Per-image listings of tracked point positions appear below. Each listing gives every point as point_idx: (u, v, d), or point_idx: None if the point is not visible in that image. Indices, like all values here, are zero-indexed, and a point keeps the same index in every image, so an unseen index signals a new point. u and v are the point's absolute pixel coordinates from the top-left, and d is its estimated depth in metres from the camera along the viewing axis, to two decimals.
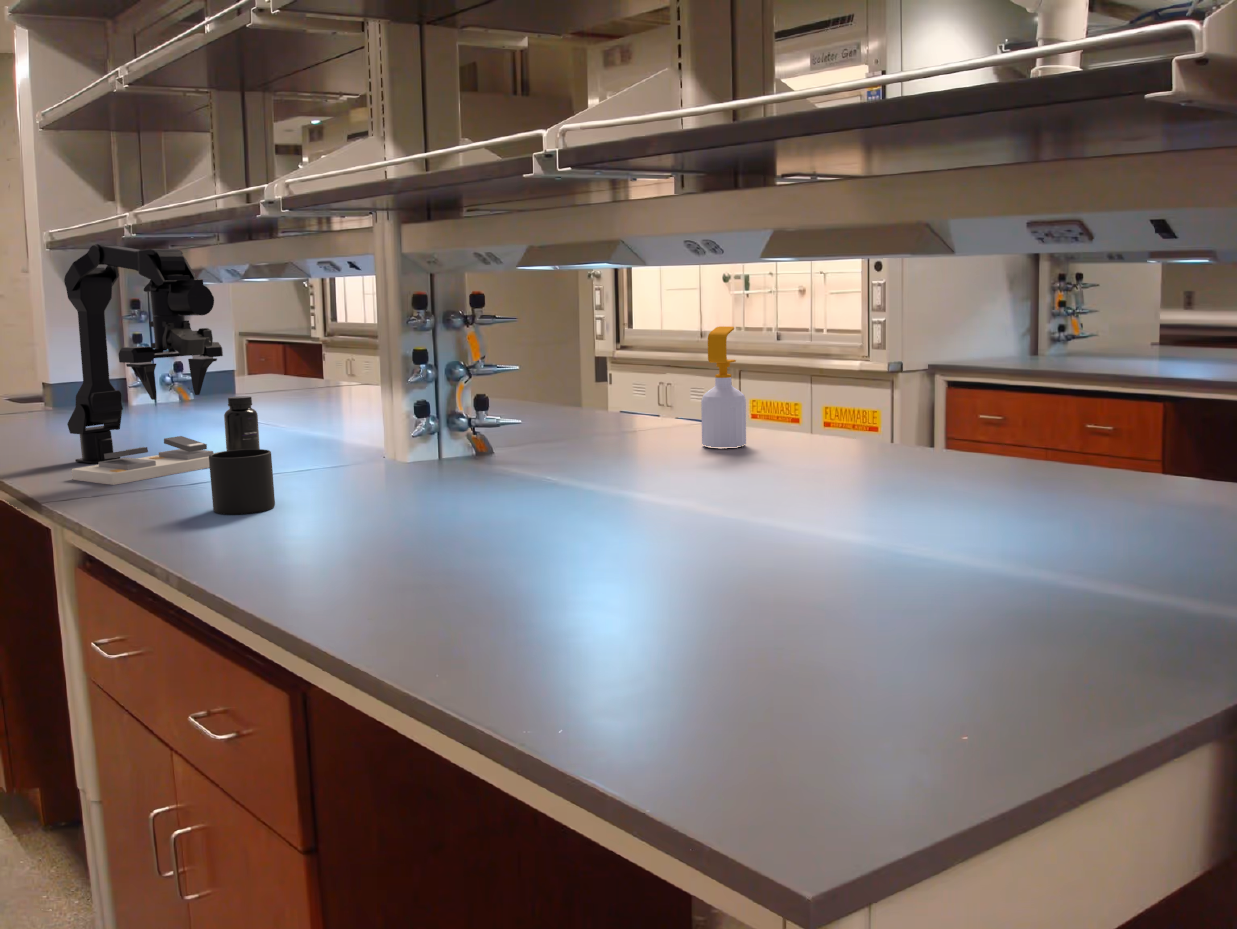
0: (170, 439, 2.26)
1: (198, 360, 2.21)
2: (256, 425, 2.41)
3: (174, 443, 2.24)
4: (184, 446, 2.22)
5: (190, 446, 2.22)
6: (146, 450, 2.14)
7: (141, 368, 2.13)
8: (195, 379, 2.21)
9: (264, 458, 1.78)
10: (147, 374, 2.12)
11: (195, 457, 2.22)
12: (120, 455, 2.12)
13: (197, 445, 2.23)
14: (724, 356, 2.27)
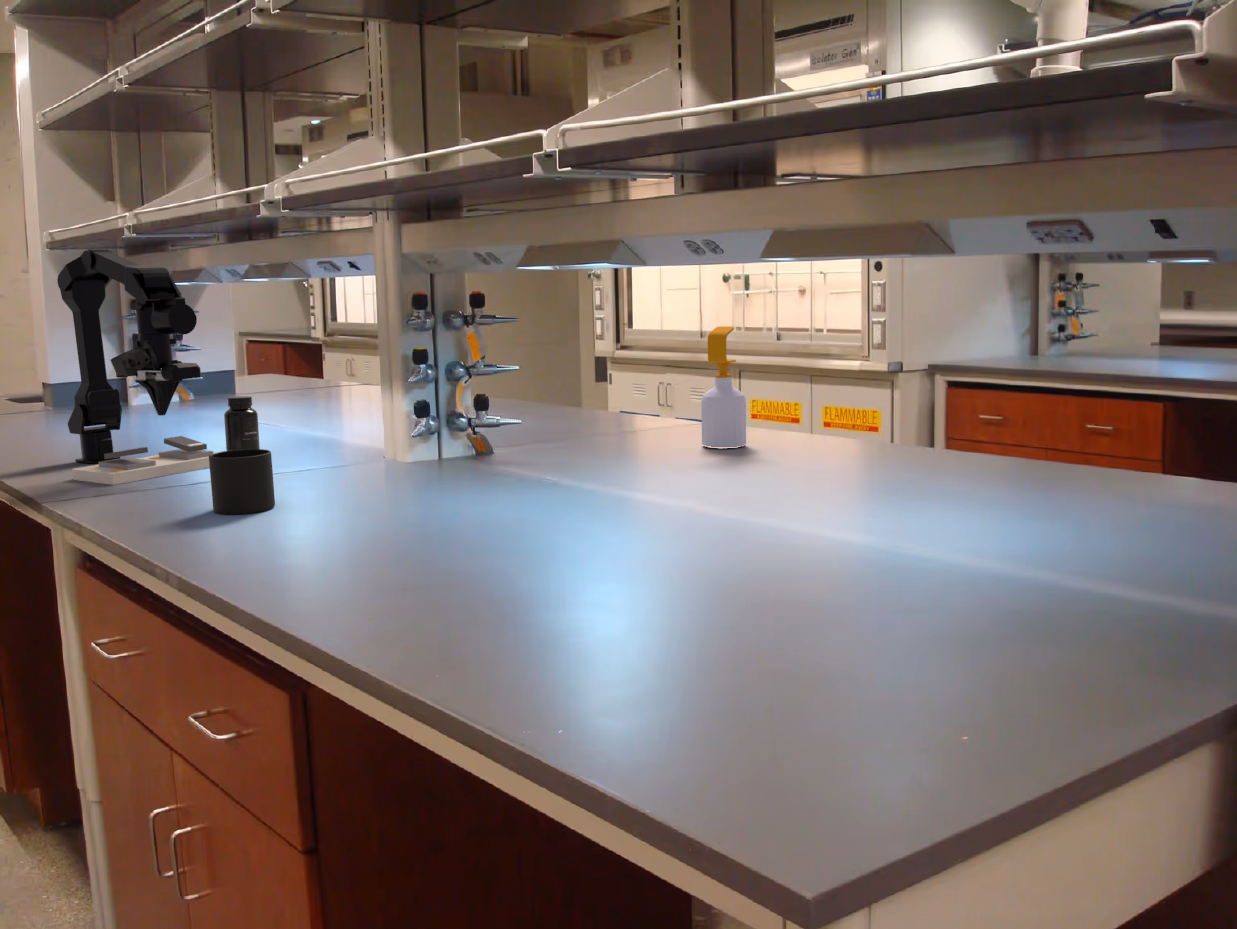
0: (170, 439, 2.26)
1: None
2: (256, 425, 2.41)
3: (174, 443, 2.24)
4: (184, 446, 2.22)
5: (190, 446, 2.22)
6: (146, 450, 2.14)
7: None
8: None
9: (264, 458, 1.78)
10: (147, 390, 2.17)
11: (195, 457, 2.22)
12: (120, 455, 2.12)
13: (197, 445, 2.23)
14: (724, 356, 2.27)
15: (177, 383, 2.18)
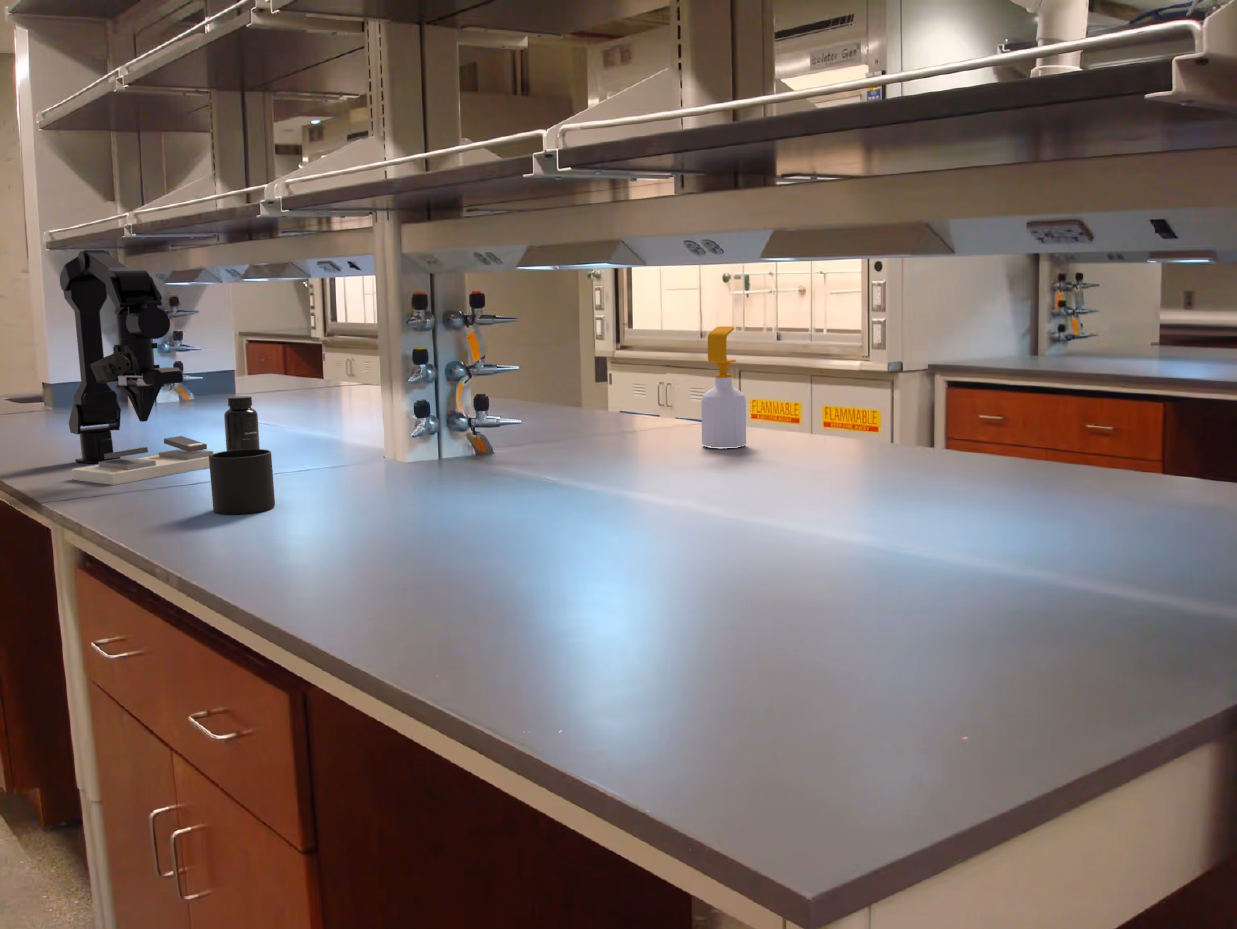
0: (170, 439, 2.26)
1: None
2: (256, 425, 2.41)
3: (174, 443, 2.24)
4: (184, 446, 2.22)
5: (190, 446, 2.22)
6: (146, 450, 2.14)
7: None
8: None
9: (264, 458, 1.78)
10: (128, 395, 2.13)
11: (195, 457, 2.22)
12: (120, 455, 2.12)
13: (197, 445, 2.23)
14: (724, 356, 2.27)
15: (159, 388, 2.13)
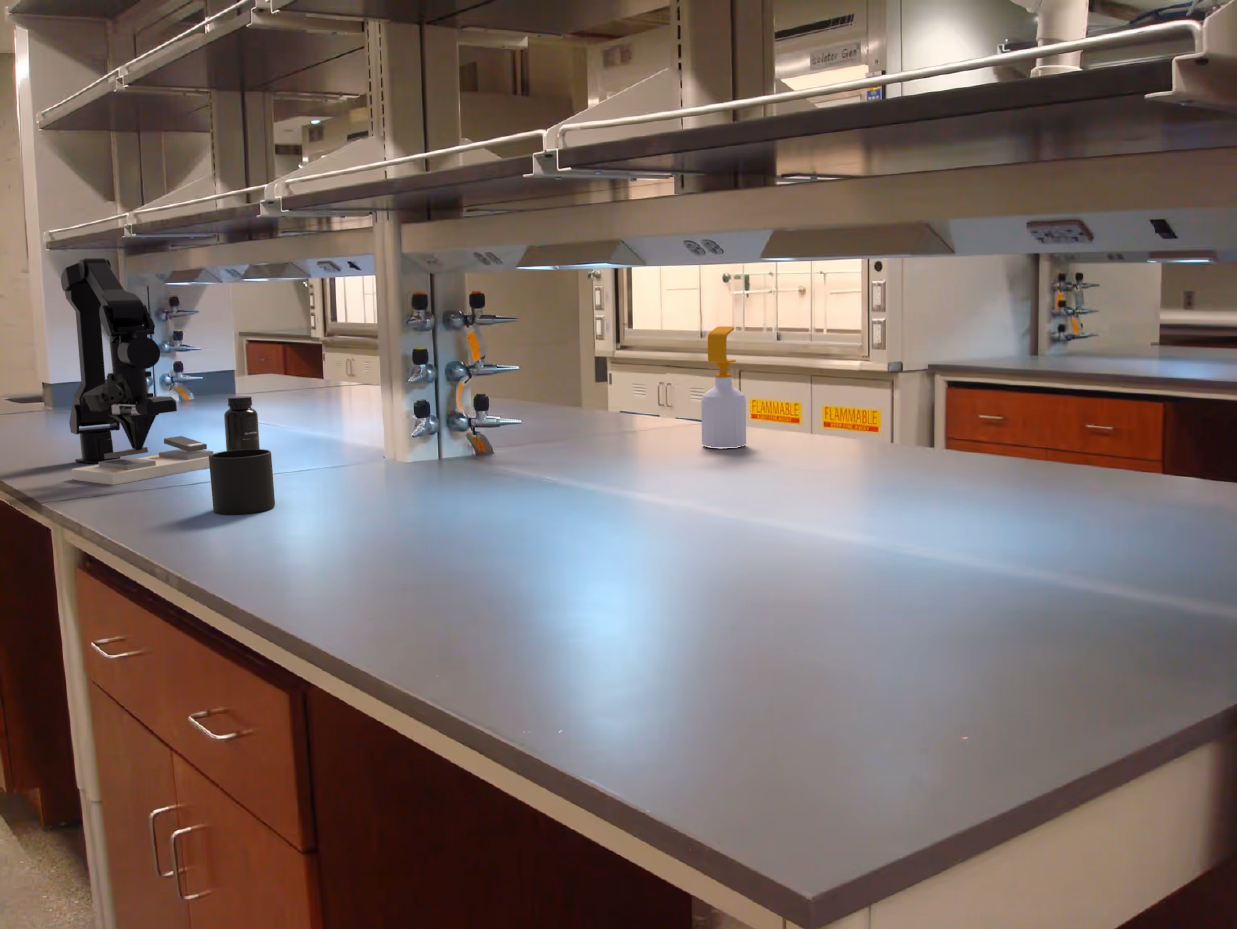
0: (170, 439, 2.26)
1: None
2: (256, 425, 2.41)
3: (174, 443, 2.24)
4: (184, 446, 2.22)
5: (190, 446, 2.22)
6: (146, 450, 2.14)
7: None
8: None
9: (264, 458, 1.78)
10: (121, 424, 2.12)
11: (195, 457, 2.22)
12: (120, 455, 2.12)
13: (197, 445, 2.23)
14: (724, 356, 2.27)
15: (153, 417, 2.12)
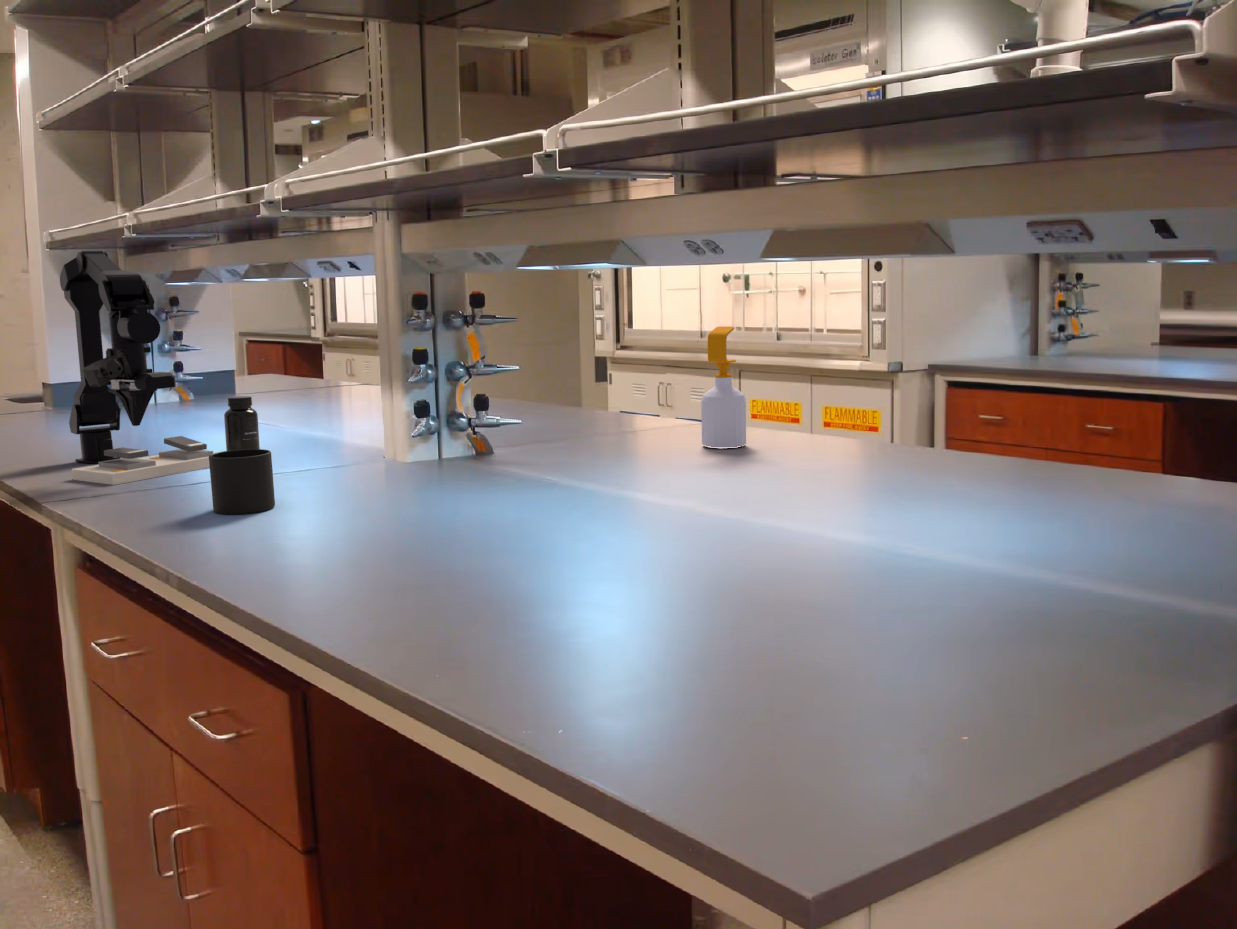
0: (170, 439, 2.26)
1: None
2: (256, 425, 2.41)
3: (174, 443, 2.24)
4: (184, 446, 2.22)
5: (190, 446, 2.22)
6: (147, 454, 2.14)
7: None
8: None
9: (264, 458, 1.78)
10: (120, 399, 2.12)
11: (195, 457, 2.22)
12: (120, 456, 2.12)
13: (197, 445, 2.23)
14: (724, 356, 2.27)
15: (152, 393, 2.12)
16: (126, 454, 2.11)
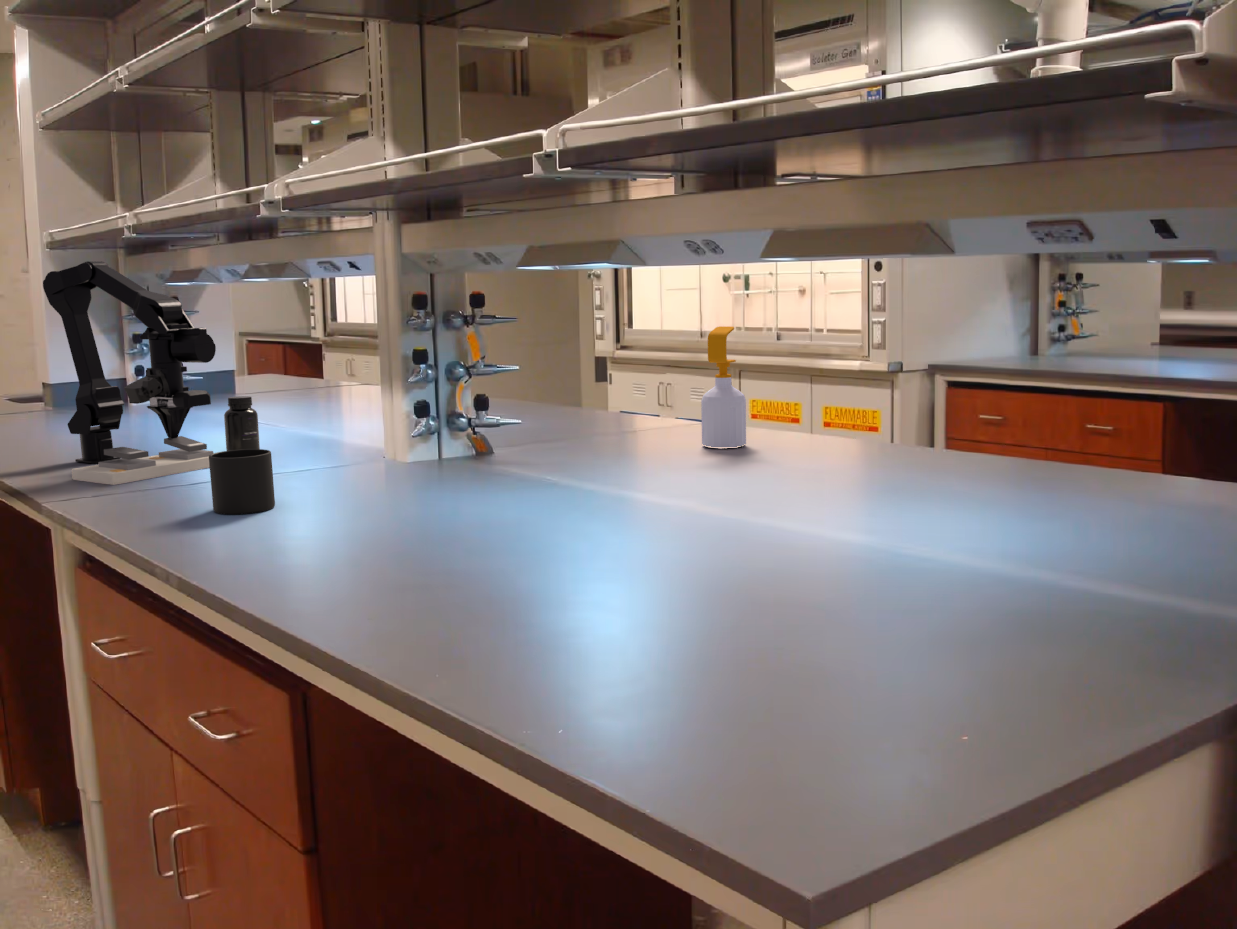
0: (170, 439, 2.26)
1: None
2: (256, 425, 2.41)
3: (174, 443, 2.24)
4: (184, 446, 2.22)
5: (190, 446, 2.22)
6: (147, 454, 2.14)
7: None
8: None
9: (264, 458, 1.78)
10: (158, 415, 2.26)
11: (195, 457, 2.22)
12: (120, 456, 2.12)
13: (197, 445, 2.23)
14: (724, 356, 2.27)
15: (188, 409, 2.27)
16: (126, 455, 2.11)
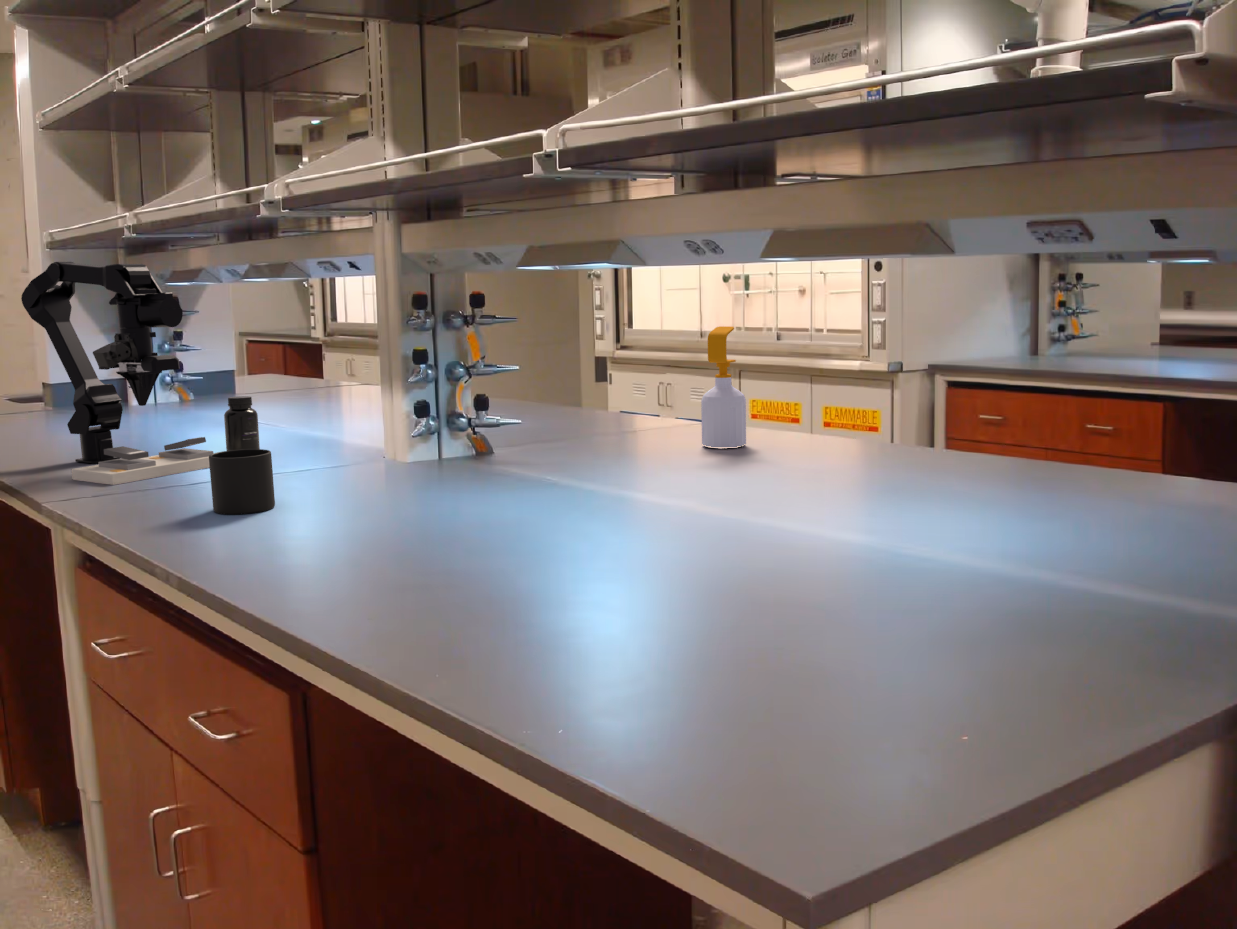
0: None
1: None
2: (256, 425, 2.41)
3: (174, 444, 2.24)
4: (183, 441, 2.22)
5: (188, 439, 2.22)
6: (147, 455, 2.14)
7: None
8: None
9: (264, 458, 1.78)
10: (128, 381, 2.27)
11: (195, 457, 2.22)
12: (120, 457, 2.12)
13: None
14: (724, 356, 2.27)
15: (157, 375, 2.28)
16: (126, 455, 2.11)
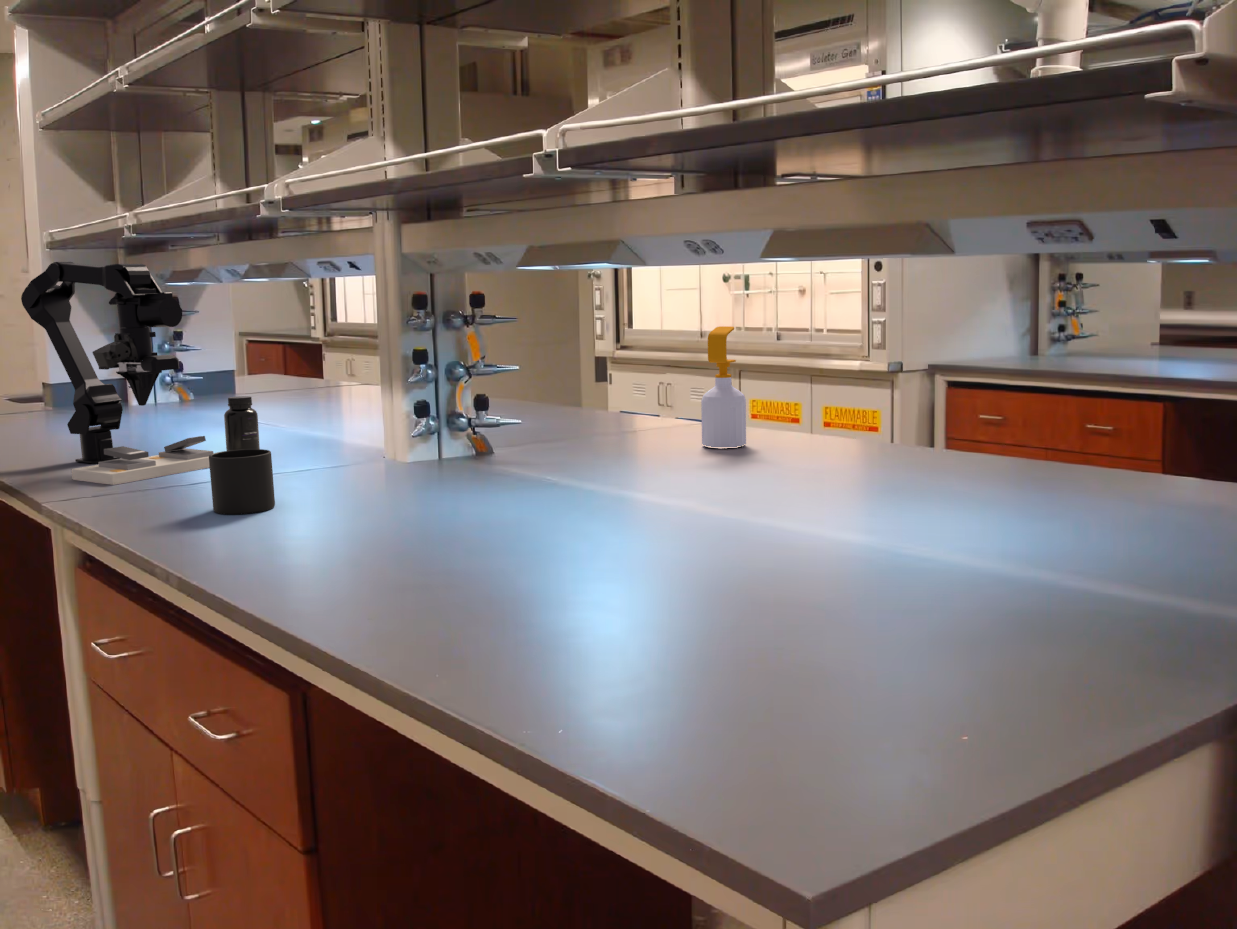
0: (170, 445, 2.26)
1: None
2: (256, 425, 2.41)
3: (174, 444, 2.24)
4: (183, 441, 2.22)
5: None
6: (147, 455, 2.14)
7: None
8: None
9: (264, 458, 1.78)
10: (128, 381, 2.27)
11: (195, 457, 2.22)
12: (120, 457, 2.12)
13: (195, 437, 2.23)
14: (724, 356, 2.27)
15: (157, 374, 2.28)
16: (126, 455, 2.11)
